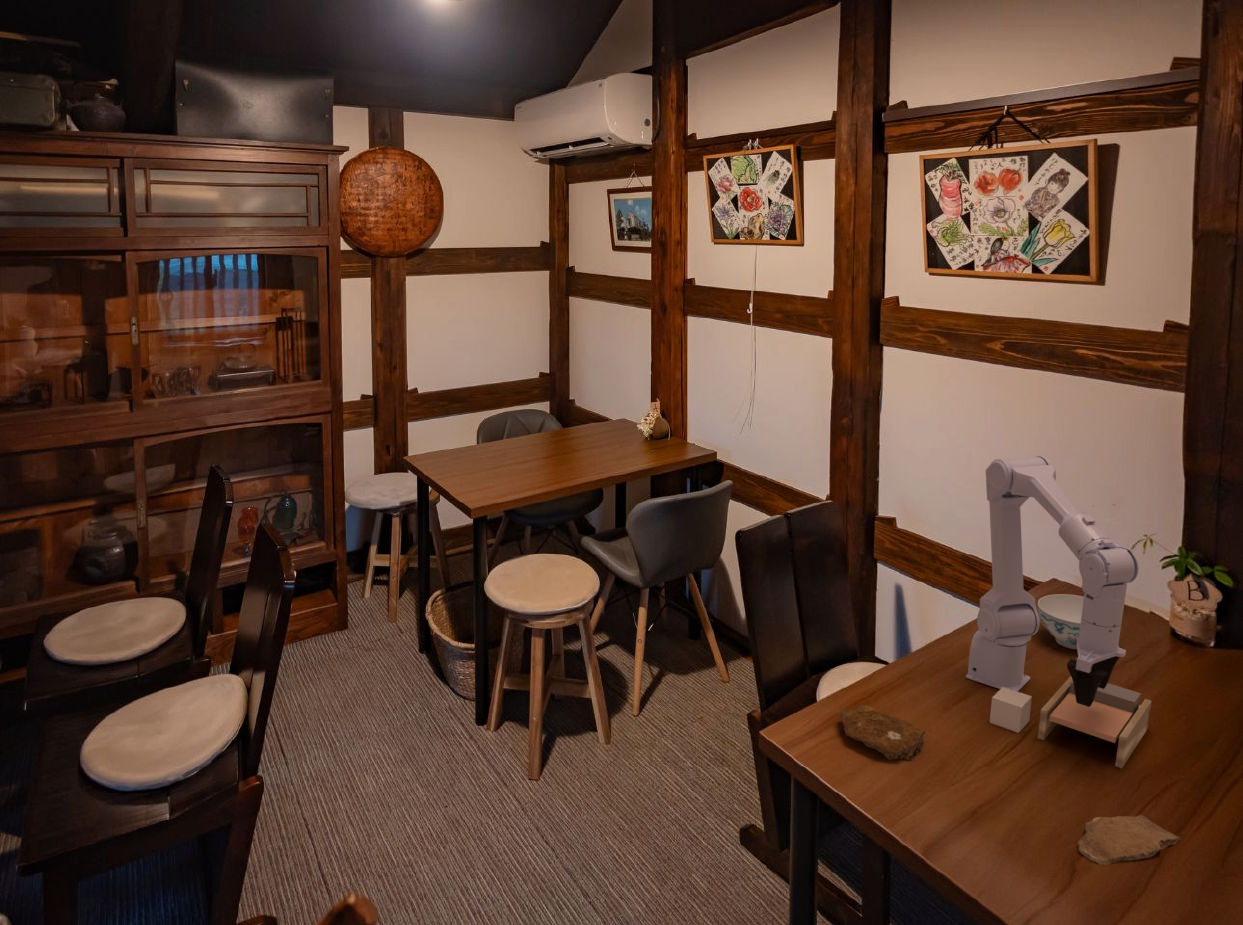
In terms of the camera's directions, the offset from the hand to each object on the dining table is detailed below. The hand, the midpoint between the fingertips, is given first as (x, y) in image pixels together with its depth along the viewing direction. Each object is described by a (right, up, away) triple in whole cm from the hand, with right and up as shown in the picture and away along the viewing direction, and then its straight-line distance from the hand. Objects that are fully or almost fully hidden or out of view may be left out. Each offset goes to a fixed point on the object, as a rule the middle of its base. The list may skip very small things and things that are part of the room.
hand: (1091, 695), depth 144 cm
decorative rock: (-34, -9, +5) cm, 36 cm away
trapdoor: (+3, -4, +4) cm, 7 cm away
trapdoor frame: (+3, -8, +6) cm, 11 cm away
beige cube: (-9, -7, +10) cm, 15 cm away
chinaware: (+17, +1, +39) cm, 42 cm away
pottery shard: (-7, -16, -20) cm, 27 cm away
